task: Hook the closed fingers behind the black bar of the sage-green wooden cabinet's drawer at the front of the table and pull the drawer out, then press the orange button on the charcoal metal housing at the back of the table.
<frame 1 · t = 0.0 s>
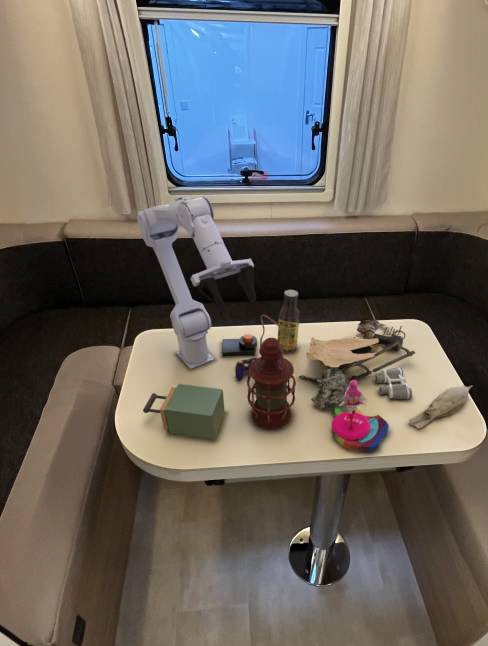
hand: (239, 306, 96), 32 cm above the table, tool tilted 50°, fingers open, 7 cm apart
gaming controller: (250, 372, 130), on the table
figurine: (350, 426, 111), point 2 cm above the table, touching decorative object
phone: (329, 364, 132), point 1 cm above the table
pill bottle: (267, 385, 125), on the table
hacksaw: (386, 369, 130), point 2 cm above the table, touching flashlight
rock: (312, 395, 122), point 1 cm above the table, touching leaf
drawer: (177, 409, 111), point 4 cm above the table, slide at 0.5 cm
lantern: (271, 415, 116), on the table
button: (247, 338, 135), point 4 cm above the table, slide at 0.1 cm
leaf: (346, 353, 129), point 5 cm above the table, touching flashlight, rock
oyster: (378, 320, 141), point 6 cm above the table, touching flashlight
sauce bottle: (287, 348, 139), on the table
binoculars: (391, 387, 126), on the table
cabinet: (198, 423, 113), on the table
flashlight: (374, 337, 145), on the table, touching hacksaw, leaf, oyster
sculpture: (450, 398, 116), point 5 cm above the table
button box: (238, 349, 138), on the table
decorative object: (383, 440, 109), point 1 cm above the table, touching figurine
knife: (331, 380, 127), on the table
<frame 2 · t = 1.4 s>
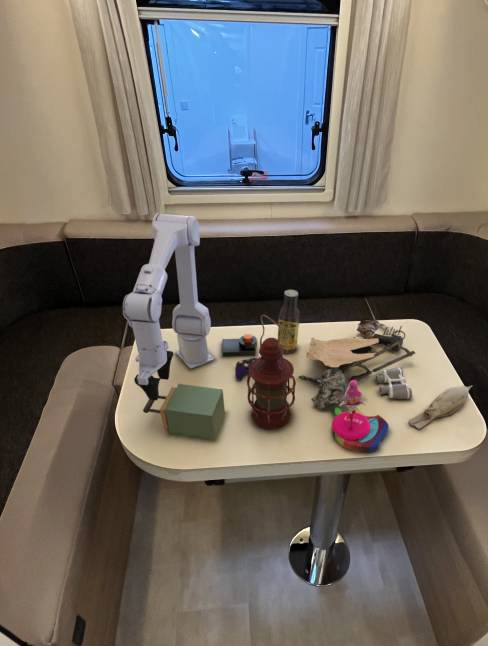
hand: (159, 388, 107), 11 cm above the table, tool pointing down, fingers open, 7 cm apart
nothing on the table moved.
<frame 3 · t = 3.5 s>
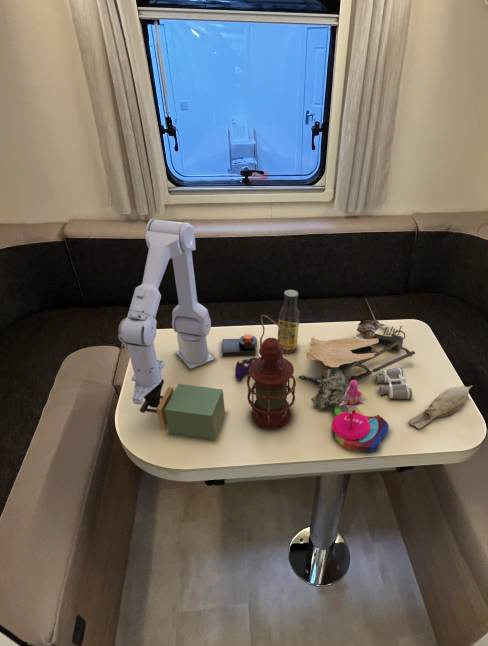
hand: (154, 405, 112), 4 cm above the table, tool pointing down, fingers closed, pressing on drawer
drawer: (174, 408, 111), point 4 cm above the table, slide at 1.3 cm, touching gripper
everything else where it was.
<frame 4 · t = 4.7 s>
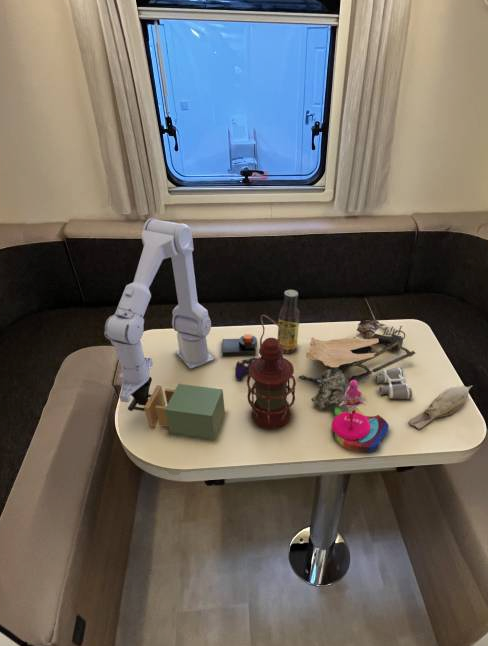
hand: (143, 403, 112), 5 cm above the table, tool pointing down, fingers closed
drawer: (162, 407, 111), point 4 cm above the table, slide at 4.4 cm
everything else where it was.
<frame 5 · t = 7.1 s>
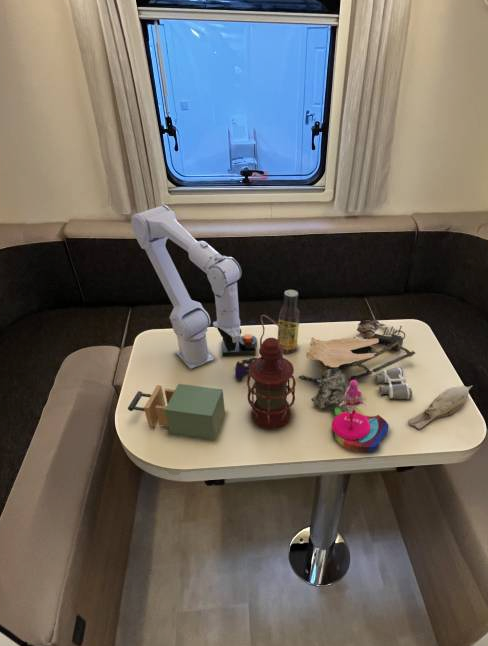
hand: (230, 349, 120), 10 cm above the table, tool pointing down, fingers closed
nothing on the table moved.
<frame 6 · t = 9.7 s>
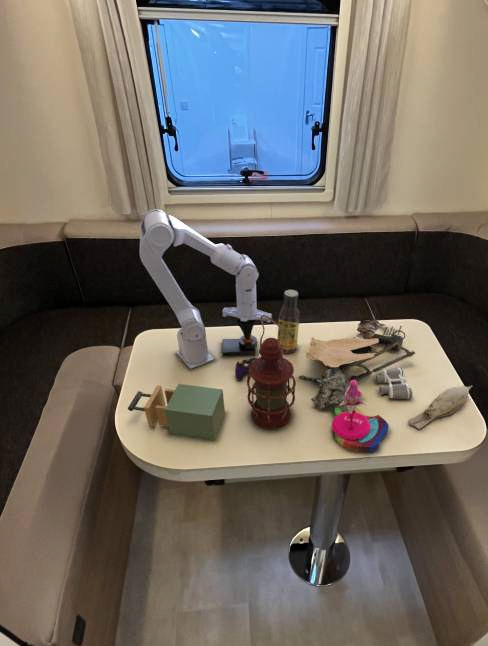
hand: (248, 337, 135), 4 cm above the table, tool pointing down, fingers closed, pressing on button
figurine: (350, 426, 111), point 2 cm above the table
button: (248, 340, 136), point 3 cm above the table, slide at -0.5 cm, touching gripper
decorative object: (383, 440, 109), point 1 cm above the table
everything else where it was.
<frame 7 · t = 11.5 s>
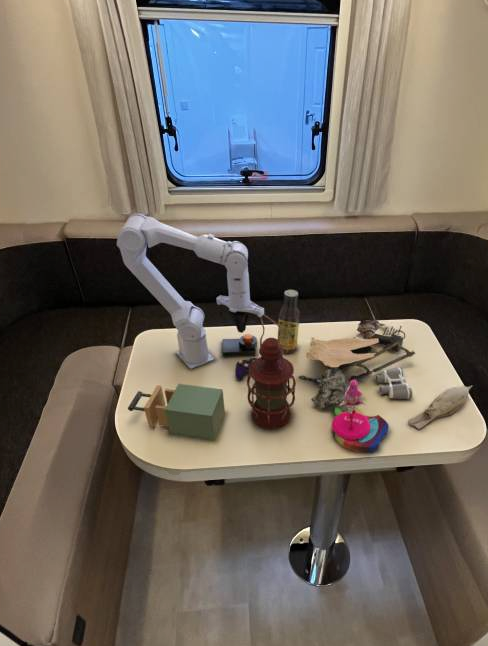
hand: (241, 330, 128), 10 cm above the table, tool pointing down, fingers closed
figurine: (350, 426, 111), point 2 cm above the table, touching decorative object
button: (247, 338, 135), point 4 cm above the table, slide at 0.1 cm
decorative object: (383, 440, 109), point 1 cm above the table, touching figurine
everything else where it was.
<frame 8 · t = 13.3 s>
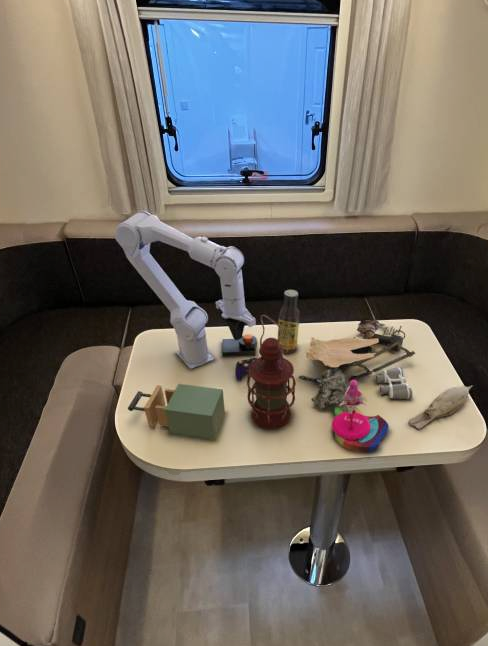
hand: (237, 338, 124), 10 cm above the table, tool pointing down, fingers closed
nothing on the table moved.
at the end: drawer slide at 4.4 cm; button pushed in 1.2 cm at the most during the clip, back to where it started at the end; button slide at 0.1 cm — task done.
